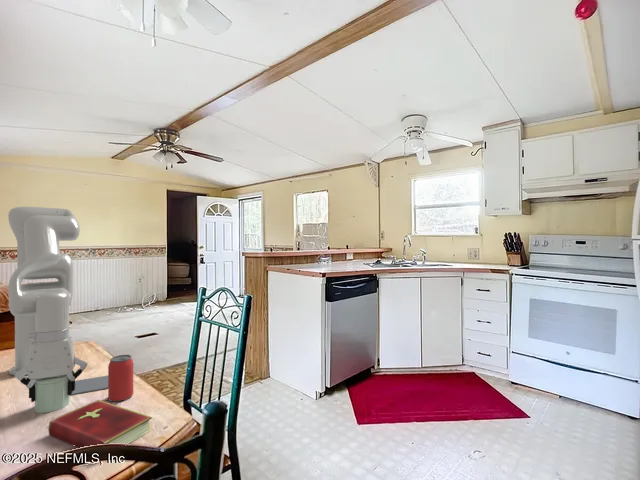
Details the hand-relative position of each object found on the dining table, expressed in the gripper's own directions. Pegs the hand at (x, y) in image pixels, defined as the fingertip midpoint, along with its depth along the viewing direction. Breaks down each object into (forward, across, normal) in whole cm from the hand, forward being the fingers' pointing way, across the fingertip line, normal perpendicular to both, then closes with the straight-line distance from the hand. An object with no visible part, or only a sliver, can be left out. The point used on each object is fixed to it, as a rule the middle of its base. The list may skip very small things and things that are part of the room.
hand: (52, 396), depth 96 cm
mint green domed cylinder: (+3, 0, 0) cm, 3 cm away
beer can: (+3, +17, -3) cm, 18 cm away
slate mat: (+3, +8, +11) cm, 14 cm away
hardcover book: (+3, +14, -22) cm, 26 cm away
